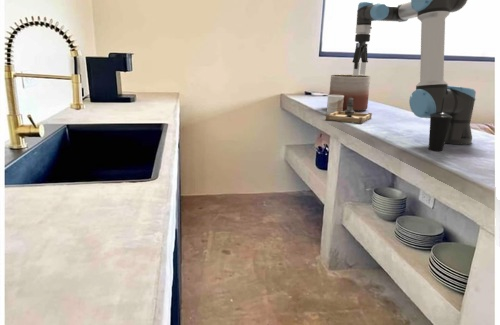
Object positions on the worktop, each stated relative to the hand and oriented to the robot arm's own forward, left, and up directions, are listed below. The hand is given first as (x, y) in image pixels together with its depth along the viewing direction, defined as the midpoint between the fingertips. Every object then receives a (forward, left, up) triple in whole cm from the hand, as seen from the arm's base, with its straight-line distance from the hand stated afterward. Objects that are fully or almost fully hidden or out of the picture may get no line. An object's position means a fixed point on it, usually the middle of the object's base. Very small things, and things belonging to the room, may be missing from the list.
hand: (359, 75), depth 202 cm
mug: (+16, +17, -25) cm, 34 cm away
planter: (+37, +16, -25) cm, 48 cm away
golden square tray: (-1, +3, -25) cm, 25 cm away
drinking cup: (-50, -47, -25) cm, 73 cm away
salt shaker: (-1, +3, -24) cm, 24 cm away
